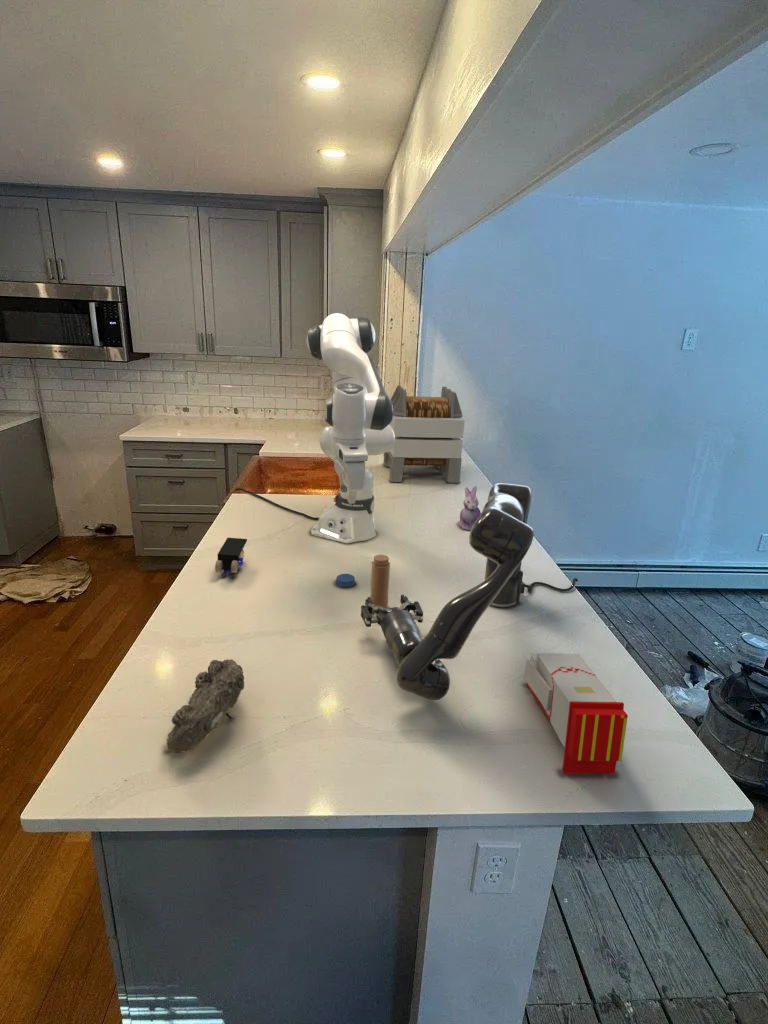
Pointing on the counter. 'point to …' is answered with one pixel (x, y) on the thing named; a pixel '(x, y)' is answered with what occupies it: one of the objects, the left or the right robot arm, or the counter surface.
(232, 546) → the black wheeled block
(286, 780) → the counter surface
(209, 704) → the fossil
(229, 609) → the counter surface
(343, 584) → the lid
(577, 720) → the toy
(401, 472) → the transformer
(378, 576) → the jar
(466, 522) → the figurine
